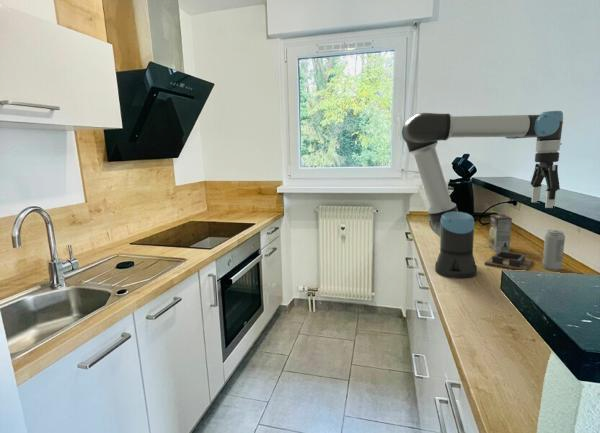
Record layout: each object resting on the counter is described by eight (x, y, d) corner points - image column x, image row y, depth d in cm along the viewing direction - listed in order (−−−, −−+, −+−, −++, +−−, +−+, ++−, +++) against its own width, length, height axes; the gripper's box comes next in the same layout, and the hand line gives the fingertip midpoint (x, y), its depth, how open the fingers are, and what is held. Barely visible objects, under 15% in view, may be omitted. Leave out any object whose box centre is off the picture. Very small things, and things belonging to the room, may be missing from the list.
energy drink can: (548, 264, 127) (551, 228, 124) (565, 269, 122) (569, 231, 119) (538, 267, 125) (541, 230, 122) (555, 272, 120) (558, 234, 117)
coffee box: (487, 246, 155) (489, 214, 152) (502, 246, 154) (504, 214, 151) (495, 251, 146) (497, 218, 143) (510, 251, 145) (512, 218, 142)
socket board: (524, 272, 121) (525, 263, 121) (484, 264, 131) (484, 256, 131) (532, 262, 131) (533, 254, 130) (494, 256, 141) (495, 248, 140)
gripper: (575, 151, 112) (568, 210, 116) (544, 151, 135) (540, 200, 139) (550, 152, 114) (544, 210, 118) (524, 152, 137) (520, 200, 141)
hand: (542, 204), depth 128 cm, fingers open, 13 cm apart
